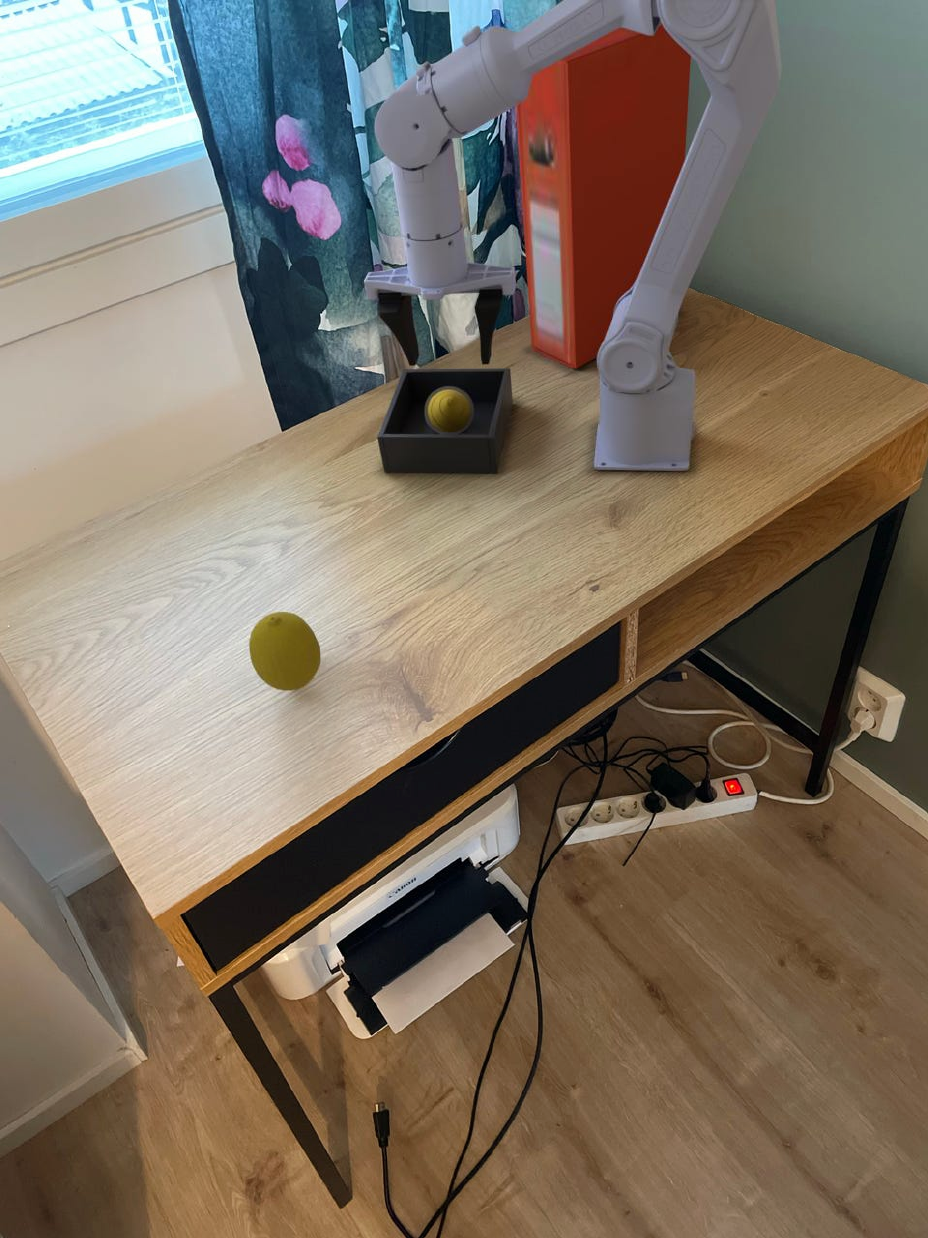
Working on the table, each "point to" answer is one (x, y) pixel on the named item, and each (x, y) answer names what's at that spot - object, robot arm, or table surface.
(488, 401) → the bin
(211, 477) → the table surface
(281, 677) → the lemon
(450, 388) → the yellow traffic cone
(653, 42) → the file binder
